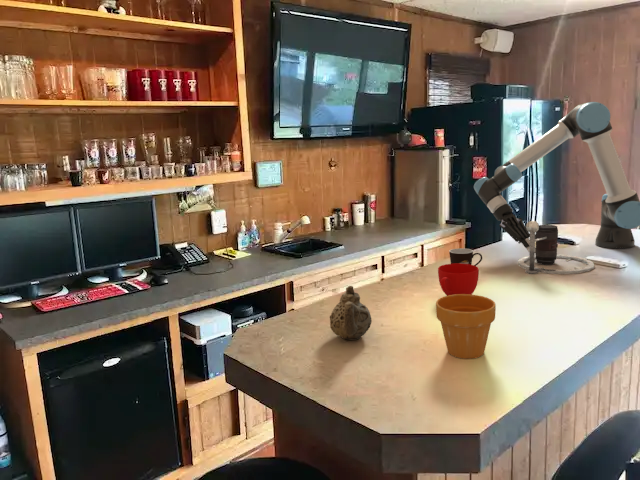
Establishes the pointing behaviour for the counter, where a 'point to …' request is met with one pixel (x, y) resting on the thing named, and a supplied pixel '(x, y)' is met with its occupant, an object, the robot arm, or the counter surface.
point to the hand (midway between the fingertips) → (534, 252)
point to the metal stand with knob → (532, 245)
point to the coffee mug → (462, 256)
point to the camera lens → (546, 244)
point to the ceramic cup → (458, 278)
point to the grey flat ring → (576, 270)
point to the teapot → (350, 316)
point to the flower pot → (465, 323)
